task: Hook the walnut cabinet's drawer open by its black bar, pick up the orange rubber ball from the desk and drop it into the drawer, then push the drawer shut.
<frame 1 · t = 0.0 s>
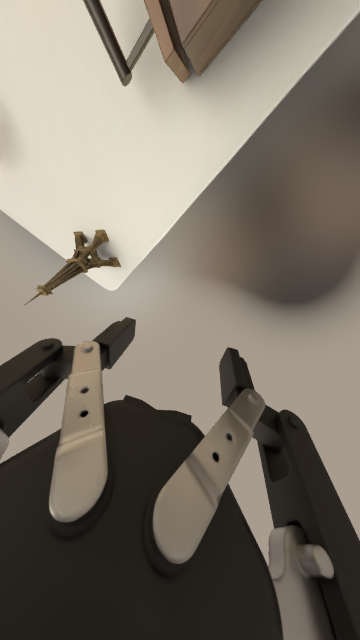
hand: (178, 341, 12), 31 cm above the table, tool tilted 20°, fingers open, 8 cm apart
eiffel tower: (99, 249, 45), on the table
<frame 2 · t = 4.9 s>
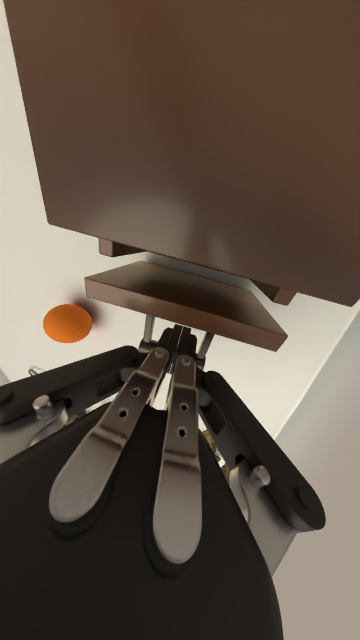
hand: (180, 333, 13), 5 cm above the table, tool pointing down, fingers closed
drawer: (203, 240, 10), point 5 cm above the table, slide at 2.3 cm
cabinet: (235, 131, 10), on the table
ball: (69, 323, 19), point 2 cm above the table
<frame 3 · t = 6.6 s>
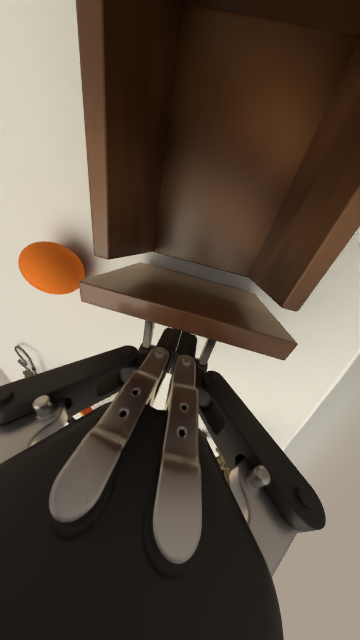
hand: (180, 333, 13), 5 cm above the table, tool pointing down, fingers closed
drawer: (205, 241, 9), point 5 cm above the table, slide at 9.5 cm, touching gripper
ball: (55, 269, 15), point 2 cm above the table
headphones: (66, 385, 30), on the table
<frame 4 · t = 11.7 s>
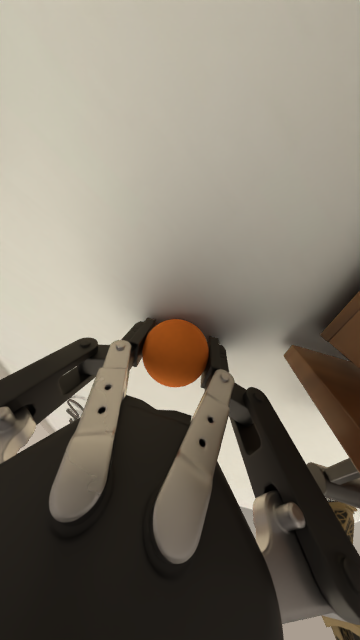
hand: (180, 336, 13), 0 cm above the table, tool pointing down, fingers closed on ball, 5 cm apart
eiffel tower: (301, 495, 25), on the table
ball: (175, 351, 11), point 2 cm above the table, touching gripper
when the fingers open (9 cm above the table, at t = 16.8 s): ball drops 7 cm, resting on drawer.
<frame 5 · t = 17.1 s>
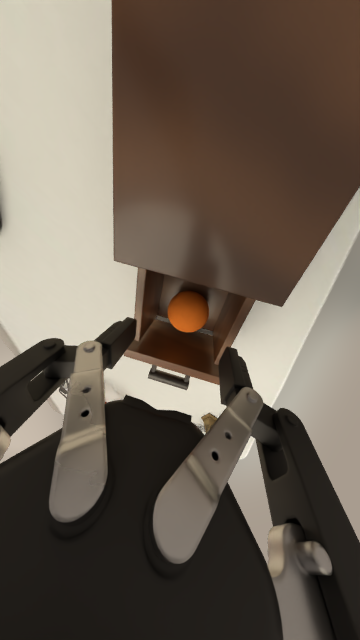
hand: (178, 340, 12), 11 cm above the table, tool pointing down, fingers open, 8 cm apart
drawer: (184, 322, 18), point 5 cm above the table, slide at 9.5 cm, touching ball
cabinet: (223, 187, 15), on the table
ball: (188, 311, 18), point 5 cm above the table, touching drawer
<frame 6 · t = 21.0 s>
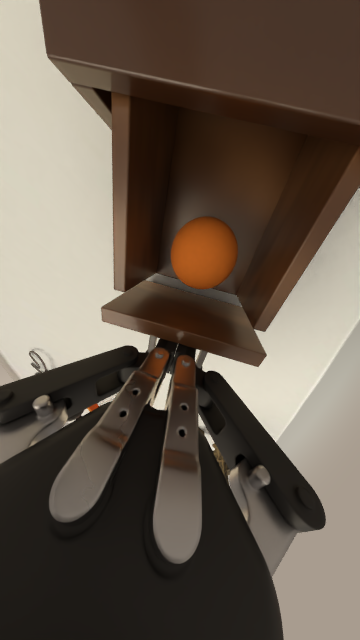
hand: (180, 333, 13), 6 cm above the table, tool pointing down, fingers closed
drawer: (199, 271, 11), point 5 cm above the table, slide at 9.1 cm, touching ball
cabinet: (269, 26, 9), on the table
ball: (203, 256, 11), point 5 cm above the table, tilted 7°, touching drawer
headphones: (75, 386, 33), on the table
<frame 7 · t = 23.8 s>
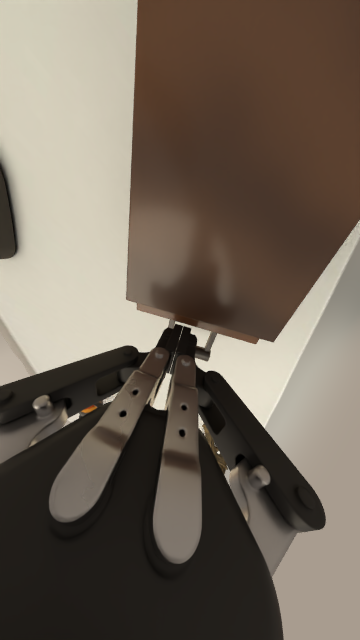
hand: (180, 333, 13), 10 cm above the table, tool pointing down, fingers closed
drawer: (209, 272, 15), point 5 cm above the table, slide at 0.0 cm, touching ball, cabinet
cabinet: (223, 223, 17), on the table
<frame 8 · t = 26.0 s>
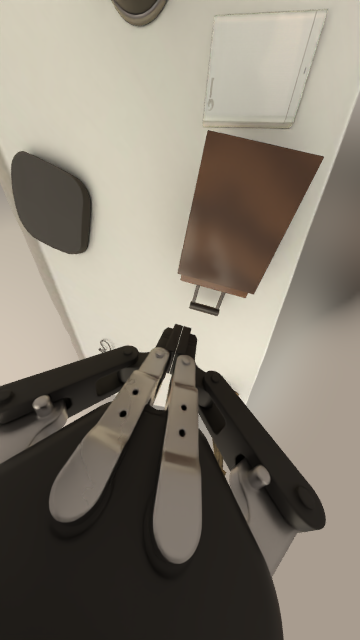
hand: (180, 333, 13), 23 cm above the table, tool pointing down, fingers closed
drawer: (220, 260, 26), point 5 cm above the table, slide at 0.0 cm, touching ball, cabinet
cabinet: (227, 231, 28), on the table
media streaming box: (60, 211, 32), on the table
hard drive: (253, 84, 20), on the table
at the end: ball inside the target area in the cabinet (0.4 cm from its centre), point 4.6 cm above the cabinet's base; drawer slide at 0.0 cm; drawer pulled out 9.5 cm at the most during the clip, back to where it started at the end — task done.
